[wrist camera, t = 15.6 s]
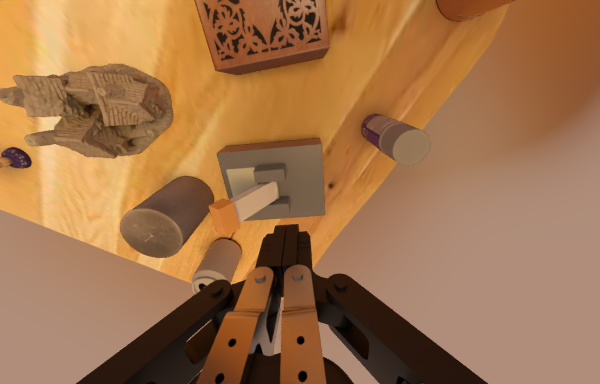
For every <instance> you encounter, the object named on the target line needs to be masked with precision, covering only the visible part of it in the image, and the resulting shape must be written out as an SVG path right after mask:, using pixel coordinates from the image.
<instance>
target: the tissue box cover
mask: <svg viewBox="0 0 600 384" xmlns="http://www.w3.org/2000/svg"><path fill="white" fill-rule="evenodd" d="M194 1H195V4H196V7H197V11H198V14H199V17H200V21H201V24H202V27H203V31H204V34H205V37H206V41H207V44H208V47H209V51H210V54H211V57H212V61H213V64H214V67H215V71H219V72H224V73H229V74H234V75H241V74H246V73H251V72H256V71H261V70H266V69H270V68H275V67H280V66H285V65H290V64H295V63H300V62H305V61H310V60H315V59H320V58H323V57H324V56H325V54H326V53H327V51H328V49H329V48H330V44H329V33H328V22H327V11H326V0H194Z"/></svg>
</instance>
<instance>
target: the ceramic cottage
mask: <svg viewBox="0 0 600 384" xmlns="http://www.w3.org/2000/svg"><path fill="white" fill-rule="evenodd" d="M13 79H14V80H15V82H16V84H17V86H16V87H11V88H2V89H0V99H1V101H2V102H3V103H6V104H9V105H14V106H19V107H23V108H25V109H26V112H27V115H28V117H50V116H61V117H62V119H60V121H59V122H58V123H57V125H55V127H54V130H49V131H43V132H38V133H33V134H30V135H26V136H25V138H24V139H25V141H26V142H27V144H28V145H30V146H45V145H52V144H57V145H60V146H64V147H67V148H70V149H71V150H73V151H77V152H79V153H80V154H83V155H84V156H86V157H104V158H113V159H114V158H116V157H117V155H118V156H125V155H128V156H129V155H134V154H140V153H142V152H143V151H144V150H145V149H146V148H147V147H148V146H149V145H150V144H151V143H153V142H154V140H156V139H157V137H159V136H160V135H161V134H162V133H163V132H165V131H166V130H167V129H168V128H169V127H170V125H171V124H172V121H173V111H172V108H171V96H170V93H169V90H168V89H167V87H166V86H165V85H164V84H163V83H162V82H161V81H158V80H157V79H156V78H153V77H151V76H149V75H147V74H145V73H142V72H141V71H138V70H137V69H134V68H132V67H129V66H126V65H123V64H108V65H105V66H102V67H96V66H91V67H88V68H86V69H84V70H82V71H79V72H68V73H65V74H64V75H61V76H57V75H50V76H47V77H45V76H21V75H15V76H13Z"/></svg>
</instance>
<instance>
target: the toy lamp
mask: <svg viewBox="0 0 600 384" xmlns="http://www.w3.org/2000/svg"><path fill="white" fill-rule="evenodd" d="M1 156H2V157H0V168H1V167H7V166H11V167H14V168H28V167H30V165H31V160H30V158H29V156H28V155H27V154H26V153H25V152H24V151H22V150H20V149H18V148H14V147H11V148H8V149H6V150H4V151H3V153H2V155H1Z"/></svg>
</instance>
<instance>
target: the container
mask: <svg viewBox="0 0 600 384" xmlns="http://www.w3.org/2000/svg"><path fill="white" fill-rule="evenodd" d="M361 131H362V134H363V136H364V137H365V138H366V139H367V140H368V141H370V142H371V143H372V144H373V145H375V146H376V147H377V148H378V149H379V150H381V151H382V152H383V153H385V154H386V155H387V156H389V157H390V158H392V159H393V160H395V161H396V162H397V163H399V164H401V165H404V166H410V165H415V164H417V163H419V162H421V161H422V160H423V159H424V158H425V157H426V156H427V154H428V152H429V150H430V146H431V141H430V137H429V136H428V134H427V133H426V132H424V131H422V130H420V129H418V128H415V127H413V126H410V125H408V124H406V123H403V122H400V121H397V120H394V119H391V118H388V117H385V116H382V115H379V114H373V115H370V116H369V117H367V118H366V119H365V120H364V122H363V124H362V127H361Z"/></svg>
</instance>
